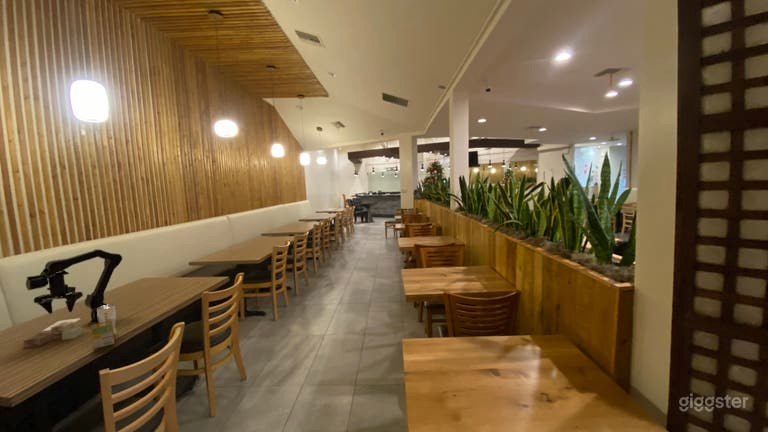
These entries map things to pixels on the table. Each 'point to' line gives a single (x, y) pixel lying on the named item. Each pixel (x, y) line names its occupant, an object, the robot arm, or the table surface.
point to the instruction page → (61, 322)
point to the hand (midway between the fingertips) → (60, 312)
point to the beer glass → (107, 315)
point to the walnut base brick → (39, 339)
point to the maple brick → (62, 327)
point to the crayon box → (103, 334)
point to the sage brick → (71, 333)
